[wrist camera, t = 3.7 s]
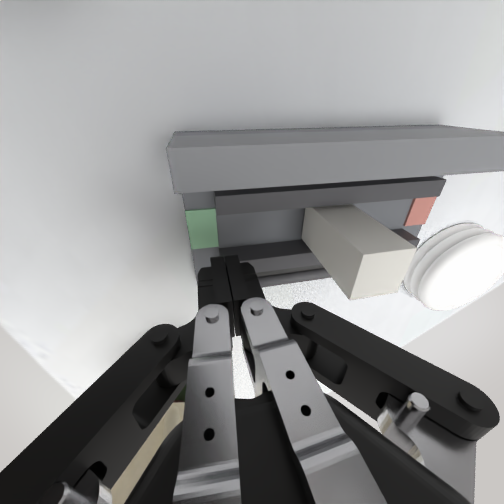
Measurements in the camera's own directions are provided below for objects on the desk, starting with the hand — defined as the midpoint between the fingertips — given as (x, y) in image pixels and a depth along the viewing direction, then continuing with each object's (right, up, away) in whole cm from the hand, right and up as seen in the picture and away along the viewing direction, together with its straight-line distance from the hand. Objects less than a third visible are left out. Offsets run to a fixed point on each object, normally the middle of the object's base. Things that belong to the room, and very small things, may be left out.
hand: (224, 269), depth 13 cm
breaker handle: (+7, +4, +5) cm, 9 cm away
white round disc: (+24, 0, +15) cm, 28 cm away
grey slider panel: (+6, +5, +7) cm, 11 cm away
